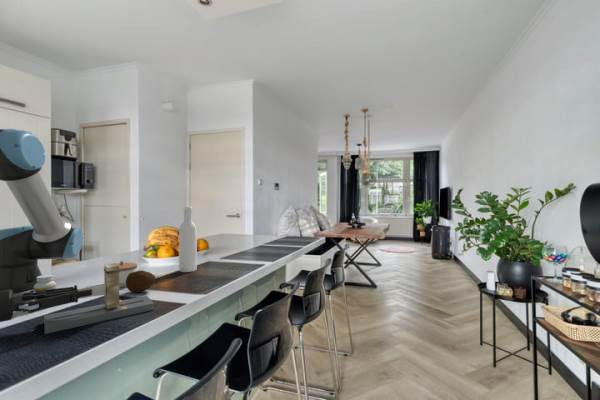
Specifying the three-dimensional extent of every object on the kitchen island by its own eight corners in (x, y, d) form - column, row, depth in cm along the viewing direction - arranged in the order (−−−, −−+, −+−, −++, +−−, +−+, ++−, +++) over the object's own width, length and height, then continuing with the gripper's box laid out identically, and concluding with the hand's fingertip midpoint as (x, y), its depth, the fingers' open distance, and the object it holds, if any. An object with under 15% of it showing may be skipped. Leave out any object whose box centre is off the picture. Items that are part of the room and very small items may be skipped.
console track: (44, 334, 77) (44, 325, 77) (44, 322, 84) (44, 314, 84) (154, 309, 94) (154, 302, 94) (146, 301, 101) (146, 295, 101)
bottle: (178, 269, 145) (178, 206, 144) (195, 267, 148) (196, 206, 148) (179, 273, 138) (179, 207, 137) (197, 271, 141) (197, 206, 141)
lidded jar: (123, 290, 113) (123, 265, 112) (98, 288, 115) (98, 263, 115) (143, 282, 123) (143, 259, 123) (120, 280, 125) (120, 257, 125)
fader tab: (106, 309, 87) (106, 267, 87) (104, 304, 91) (103, 264, 91) (119, 306, 89) (119, 266, 89) (116, 301, 93) (116, 263, 93)
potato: (127, 290, 112) (127, 269, 112) (156, 287, 116) (156, 267, 116) (123, 296, 106) (123, 274, 105) (154, 293, 109) (154, 271, 109)
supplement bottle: (60, 304, 98) (59, 274, 98) (40, 310, 93) (40, 279, 93) (49, 302, 100) (49, 273, 99) (30, 307, 95) (29, 277, 94)
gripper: (-7, 315, 78) (102, 295, 94) (-14, 332, 68) (108, 308, 84) (-7, 286, 78) (101, 271, 94) (-14, 299, 68) (108, 281, 84)
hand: (105, 288), depth 89 cm, fingers closed
